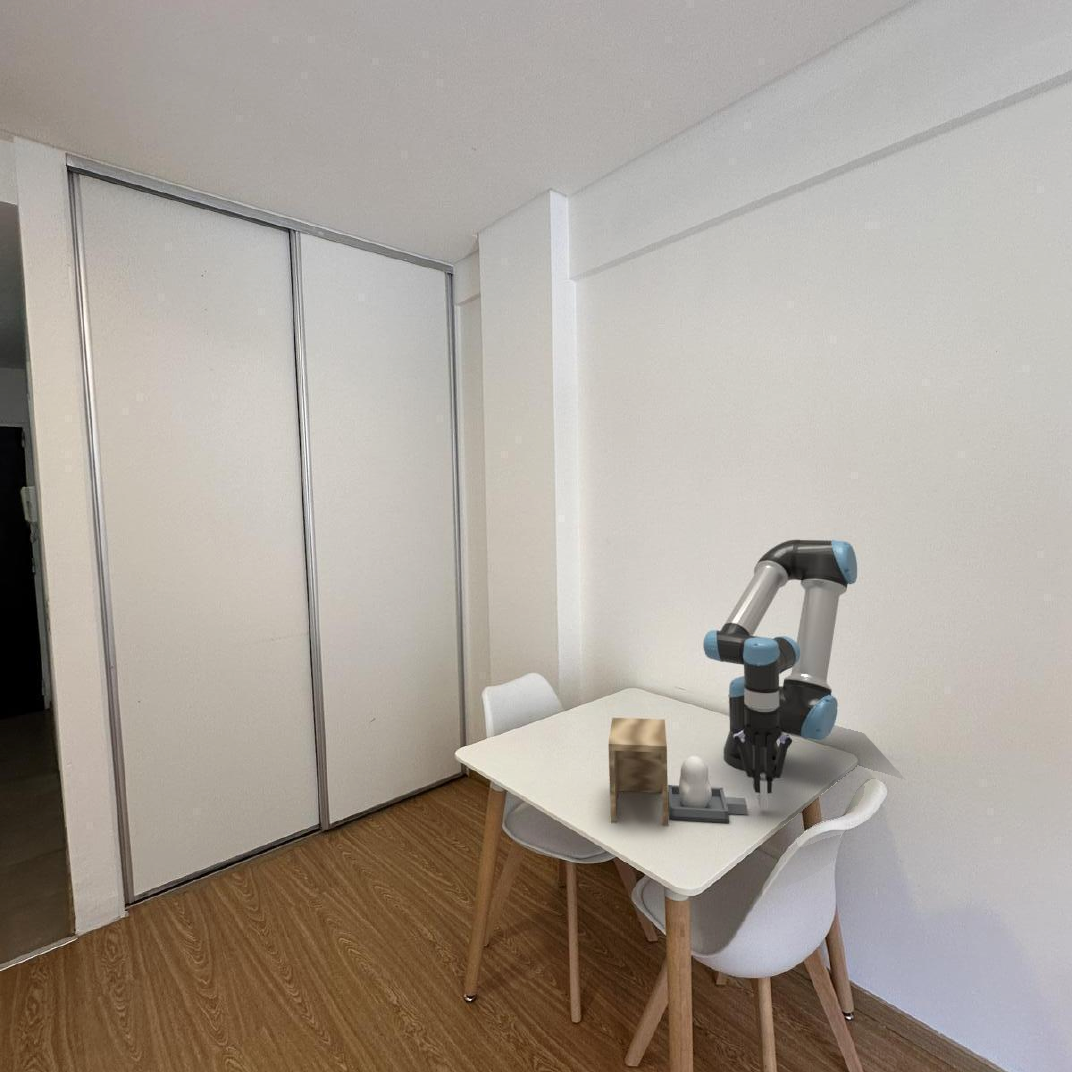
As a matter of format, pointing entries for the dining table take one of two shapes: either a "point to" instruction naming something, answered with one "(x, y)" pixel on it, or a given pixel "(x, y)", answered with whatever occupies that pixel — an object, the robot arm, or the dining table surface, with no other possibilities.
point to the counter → (638, 760)
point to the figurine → (694, 783)
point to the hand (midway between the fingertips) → (762, 805)
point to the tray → (714, 810)
